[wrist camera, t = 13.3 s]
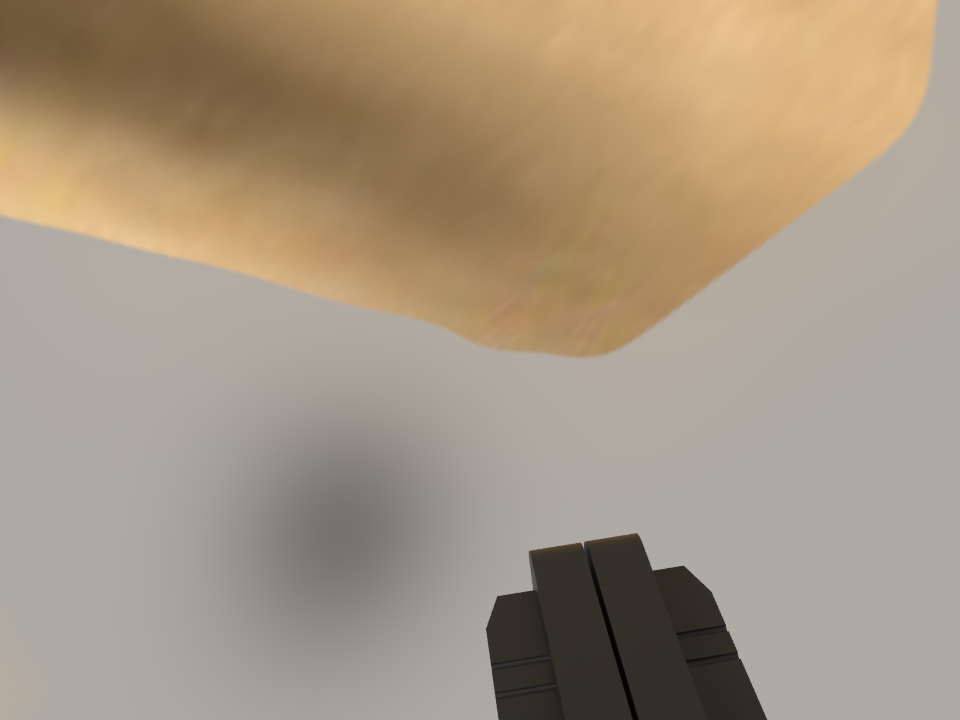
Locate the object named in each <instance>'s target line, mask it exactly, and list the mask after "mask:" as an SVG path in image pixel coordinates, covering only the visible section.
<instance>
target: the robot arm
mask: <svg viewBox="0 0 960 720" xmlns="http://www.w3.org/2000/svg"><path fill="white" fill-rule="evenodd" d="M529 559H530V568H531V576H532V584H533V591H527V592H521V593H515V594H509V595H502V596H498V597H497V599H496V602H495V605H494V608H493V611H492V613H491V616H490V619H489V622H488V625H487V628H486V631H487V638H488V646H489V653H490V660H491V667H492V675H493V682H494V689H495V696H496V704H497V711H498V718H499V720H767V718H766V716H765V714H764V712H763V709H762V707H761V705H760V702H759V700H758V698H757V695H756V693H755V691H754V688H753V686H752V684H751V682H750V679H749V677H748V675H747V673H746V670H745V668H744V666H743V663H742V661H741V659H739V657H738V652H737V650H736V647H735V645H734V643H733V640H732V638H731V636H730V633H729V632H728V631H727V629H726V624H725V622H724V620H723V617H722V616H721V613H720V611H719V609H718V606H717V604H716V601H715V599H714V597H713V594H712V592H711V591H710V590H709V589H708V588H707V587H706V586H705V585H704V584H702V583H701V582H700V581H699V580H698V579H697V578H696V577H695V576H694V575H693V574H692V573H691V572H690V571H689V570H688V569H687V568H685V567H684V566H679V567H673V568H667V569H660V570H654V571H653V570H652V568H651V566H650V562H649V560H648V557H647V554H646V552H645V549H644V546H643V544H642V541H641V539H640V537H639V535H638V534H637V533H635V534H630V535H623V536H617V537H611V538H604V539H598V540H592V541H586V542H584V549H583V546H582V544H581V543H576V544H569V545H563V546H556V547H550V548H545V549H538V550H532V551H529Z"/></svg>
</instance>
